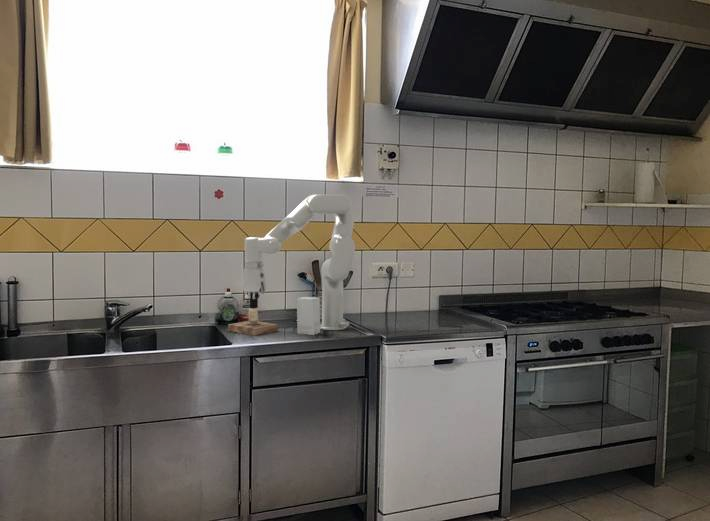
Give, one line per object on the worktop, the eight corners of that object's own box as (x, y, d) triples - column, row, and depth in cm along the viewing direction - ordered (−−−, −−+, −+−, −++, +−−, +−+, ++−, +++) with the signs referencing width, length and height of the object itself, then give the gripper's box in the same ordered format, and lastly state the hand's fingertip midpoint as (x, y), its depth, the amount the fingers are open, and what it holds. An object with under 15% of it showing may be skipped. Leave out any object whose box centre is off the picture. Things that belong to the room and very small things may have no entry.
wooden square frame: (277, 331, 262) (277, 324, 261) (255, 335, 250) (255, 328, 250) (251, 327, 271) (251, 320, 271) (228, 331, 259) (228, 324, 259)
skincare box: (320, 333, 258) (321, 297, 257) (313, 335, 252) (313, 299, 251) (303, 331, 262) (304, 296, 261) (296, 334, 256) (296, 297, 255)
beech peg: (260, 331, 261) (260, 308, 260) (253, 332, 257) (253, 309, 257) (253, 329, 263) (253, 307, 263) (246, 331, 260) (246, 308, 259)
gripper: (272, 266, 257) (272, 308, 259) (247, 264, 266) (247, 305, 267) (260, 267, 251) (260, 310, 253) (235, 265, 260) (235, 307, 261)
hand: (253, 307), depth 260 cm, fingers closed
